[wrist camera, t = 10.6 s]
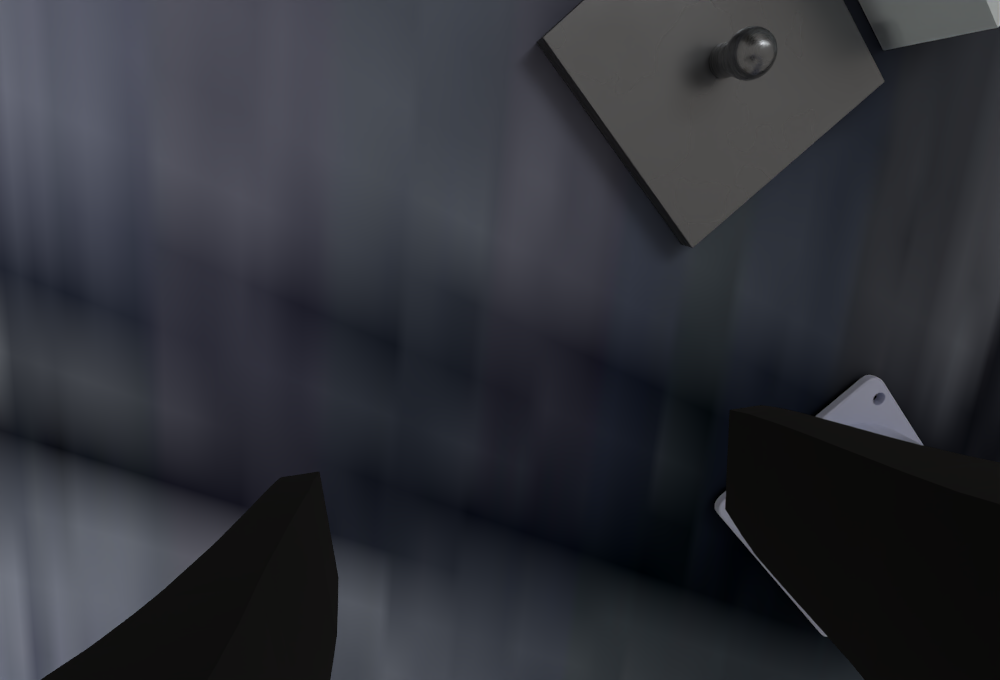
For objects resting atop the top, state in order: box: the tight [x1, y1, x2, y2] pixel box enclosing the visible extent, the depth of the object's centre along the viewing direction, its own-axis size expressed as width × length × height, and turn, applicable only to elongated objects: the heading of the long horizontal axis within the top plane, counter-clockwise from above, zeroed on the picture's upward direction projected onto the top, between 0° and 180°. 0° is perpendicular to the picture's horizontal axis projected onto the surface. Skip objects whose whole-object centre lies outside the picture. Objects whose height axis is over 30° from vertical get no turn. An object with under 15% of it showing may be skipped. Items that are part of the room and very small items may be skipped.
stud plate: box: [537, 0, 885, 248], centre depth 18 cm, size 8×8×3 cm
